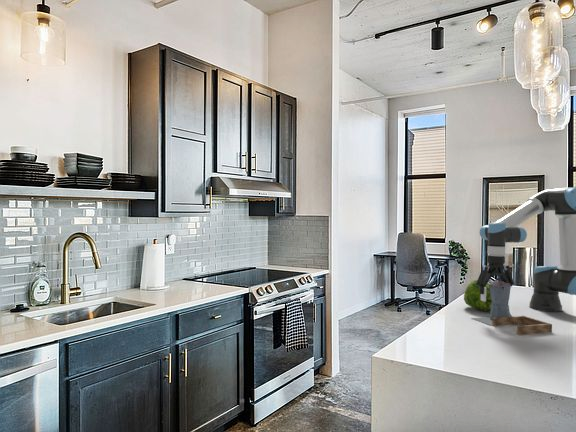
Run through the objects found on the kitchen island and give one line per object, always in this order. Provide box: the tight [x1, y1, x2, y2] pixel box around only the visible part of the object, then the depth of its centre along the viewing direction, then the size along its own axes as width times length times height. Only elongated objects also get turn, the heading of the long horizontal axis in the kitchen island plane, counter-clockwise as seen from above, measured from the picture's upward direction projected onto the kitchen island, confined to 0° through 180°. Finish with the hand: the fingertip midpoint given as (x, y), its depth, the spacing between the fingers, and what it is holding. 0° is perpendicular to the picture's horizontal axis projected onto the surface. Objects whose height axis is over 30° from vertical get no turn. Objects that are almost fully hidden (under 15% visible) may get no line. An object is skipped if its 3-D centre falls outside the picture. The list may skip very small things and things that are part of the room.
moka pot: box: [489, 277, 512, 320], centre depth 203 cm, size 10×15×20 cm, turn 171°
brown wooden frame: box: [491, 315, 553, 336], centre depth 189 cm, size 18×15×4 cm
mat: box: [471, 316, 493, 326], centre depth 202 cm, size 16×12×1 cm
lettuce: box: [463, 279, 492, 312], centre depth 223 cm, size 16×21×15 cm
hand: (494, 300), depth 202 cm, fingers open, 13 cm apart
